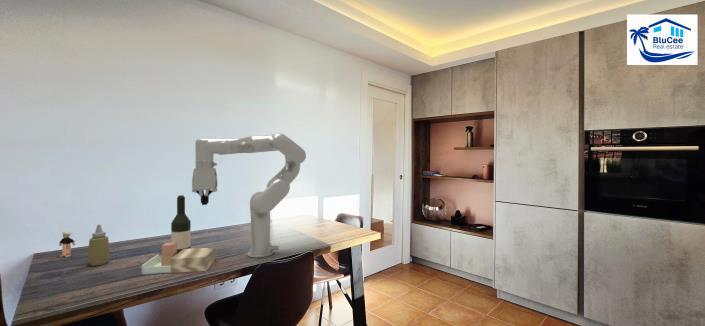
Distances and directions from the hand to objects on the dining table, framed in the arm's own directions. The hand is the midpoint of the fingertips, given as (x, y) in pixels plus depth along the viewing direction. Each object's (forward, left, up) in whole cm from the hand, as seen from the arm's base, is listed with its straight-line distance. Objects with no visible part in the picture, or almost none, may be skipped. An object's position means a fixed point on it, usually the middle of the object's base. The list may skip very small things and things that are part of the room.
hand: (204, 204), depth 135 cm
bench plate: (+3, +5, -27) cm, 28 cm away
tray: (+16, +5, -27) cm, 31 cm away
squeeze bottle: (+47, -6, -27) cm, 55 cm away
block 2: (+11, +4, -24) cm, 27 cm away
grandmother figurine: (+70, -21, -27) cm, 78 cm away
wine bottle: (+15, -13, -27) cm, 34 cm away
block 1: (+11, +5, -19) cm, 22 cm away
